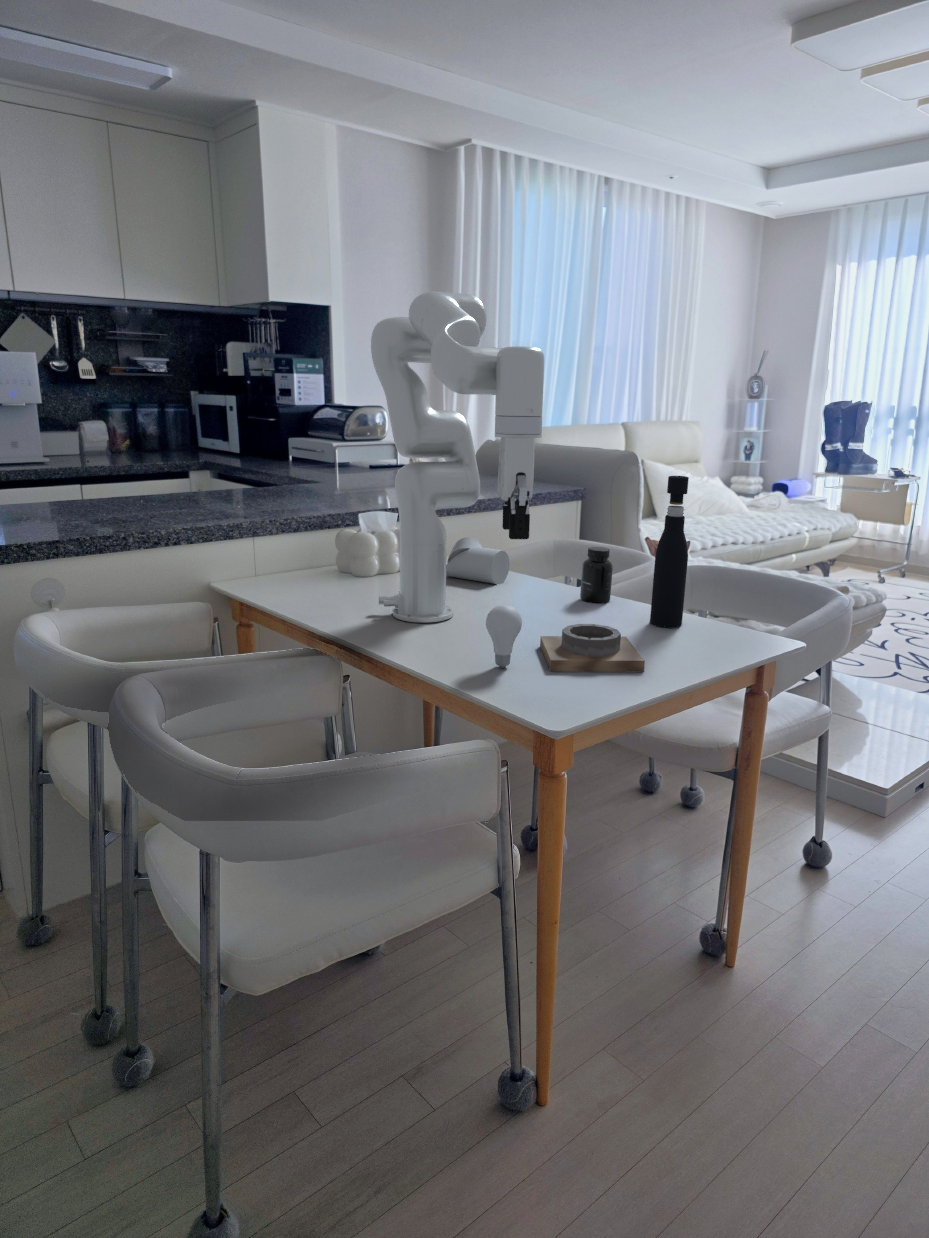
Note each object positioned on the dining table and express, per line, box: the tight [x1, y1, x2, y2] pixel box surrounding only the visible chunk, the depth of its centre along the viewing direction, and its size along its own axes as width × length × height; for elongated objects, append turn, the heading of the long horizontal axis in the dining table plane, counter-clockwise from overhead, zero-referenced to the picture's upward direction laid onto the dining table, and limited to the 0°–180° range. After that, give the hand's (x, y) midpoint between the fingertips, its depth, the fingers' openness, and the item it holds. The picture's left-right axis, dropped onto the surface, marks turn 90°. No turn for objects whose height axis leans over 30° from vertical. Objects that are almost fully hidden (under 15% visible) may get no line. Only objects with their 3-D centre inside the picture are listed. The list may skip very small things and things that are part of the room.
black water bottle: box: [649, 475, 690, 629], centre depth 165 cm, size 6×6×30 cm
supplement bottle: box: [579, 546, 614, 605], centre depth 186 cm, size 7×7×12 cm
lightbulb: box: [485, 604, 523, 669], centre depth 140 cm, size 6×6×11 cm
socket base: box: [539, 623, 646, 673], centre depth 146 cm, size 16×14×5 cm
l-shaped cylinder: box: [446, 537, 510, 585], centre depth 209 cm, size 18×10×20 cm
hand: (515, 533), depth 136 cm, fingers open, 9 cm apart
